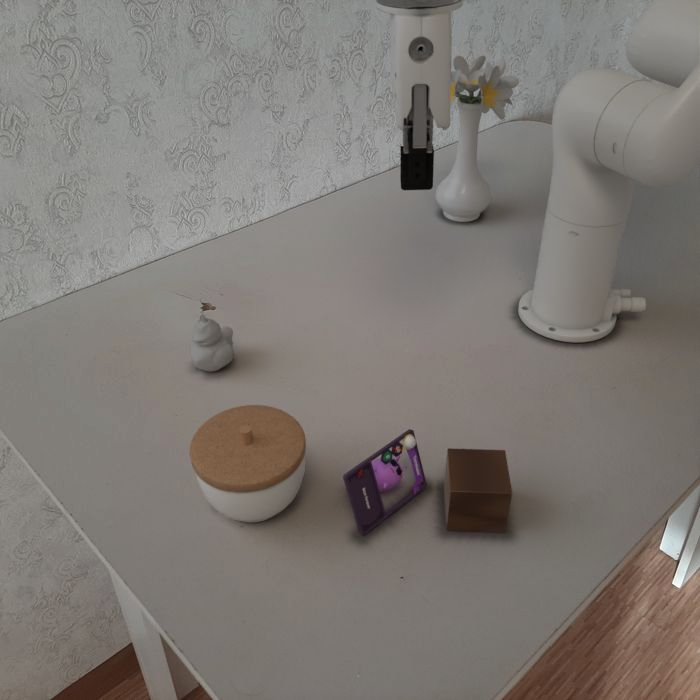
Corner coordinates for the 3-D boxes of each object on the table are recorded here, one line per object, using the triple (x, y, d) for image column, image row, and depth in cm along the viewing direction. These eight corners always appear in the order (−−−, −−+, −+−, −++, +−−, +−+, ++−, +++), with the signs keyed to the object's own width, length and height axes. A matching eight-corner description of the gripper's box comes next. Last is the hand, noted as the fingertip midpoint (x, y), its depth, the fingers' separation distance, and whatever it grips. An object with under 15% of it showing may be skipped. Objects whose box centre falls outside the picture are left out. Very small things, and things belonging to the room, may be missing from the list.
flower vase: (511, 196, 126) (530, 47, 111) (483, 243, 112) (501, 80, 97) (440, 185, 130) (449, 39, 115) (405, 229, 117) (411, 70, 102)
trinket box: (205, 463, 75) (192, 395, 69) (307, 456, 76) (302, 387, 70) (196, 546, 66) (180, 476, 61) (311, 537, 67) (306, 467, 61)
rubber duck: (180, 369, 88) (170, 315, 83) (217, 342, 92) (209, 290, 87) (213, 384, 85) (204, 330, 80) (249, 356, 90) (242, 303, 85)
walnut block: (498, 489, 72) (505, 449, 68) (505, 533, 67) (512, 493, 64) (443, 487, 72) (447, 447, 69) (446, 531, 67) (450, 491, 64)
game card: (350, 479, 64) (418, 430, 69) (315, 464, 68) (382, 419, 73) (367, 539, 66) (432, 488, 71) (333, 521, 70) (396, 474, 75)
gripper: (472, 5, 55) (460, 220, 66) (456, -32, 67) (448, 156, 78) (375, 9, 55) (379, 222, 67) (375, -29, 67) (379, 158, 78)
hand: (416, 186), depth 72 cm, fingers closed
